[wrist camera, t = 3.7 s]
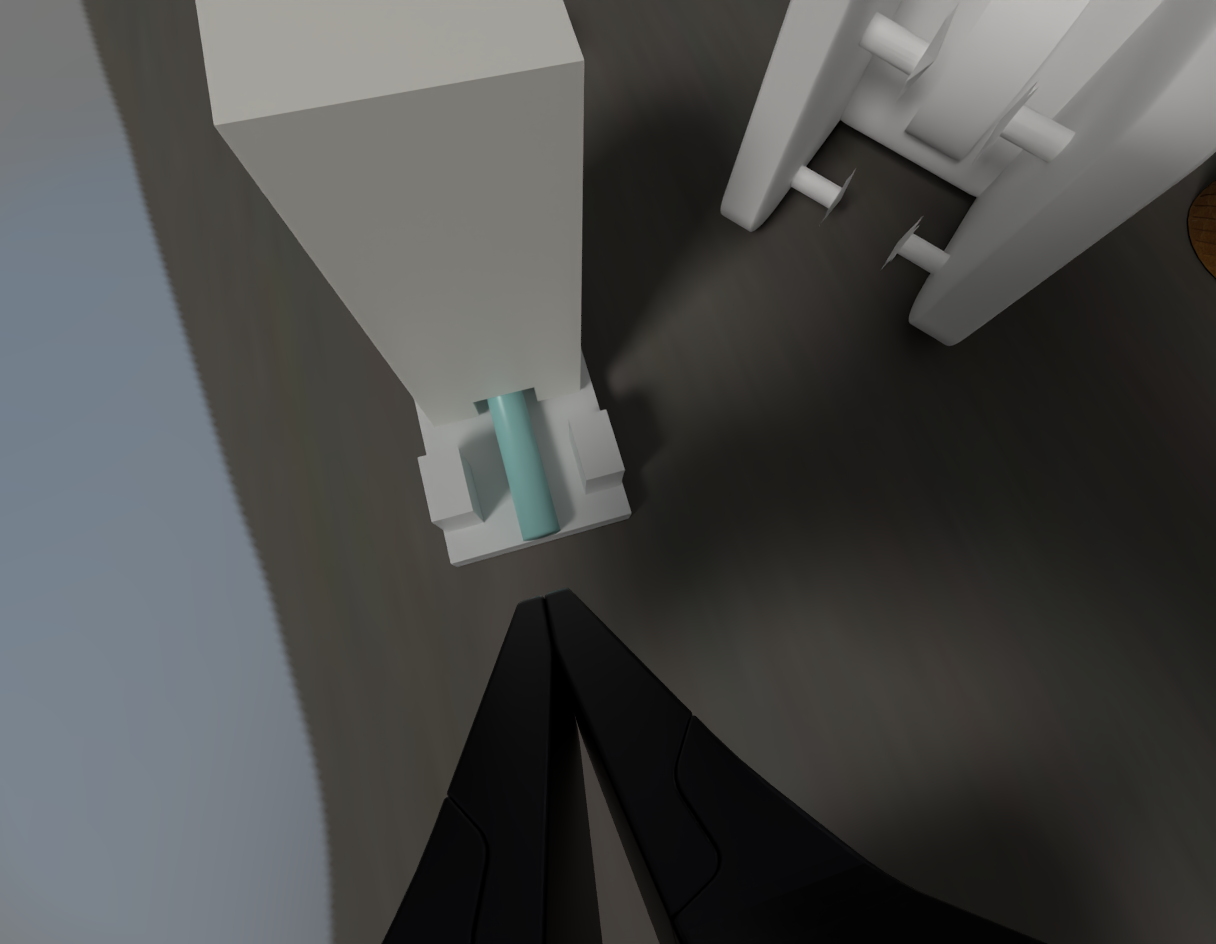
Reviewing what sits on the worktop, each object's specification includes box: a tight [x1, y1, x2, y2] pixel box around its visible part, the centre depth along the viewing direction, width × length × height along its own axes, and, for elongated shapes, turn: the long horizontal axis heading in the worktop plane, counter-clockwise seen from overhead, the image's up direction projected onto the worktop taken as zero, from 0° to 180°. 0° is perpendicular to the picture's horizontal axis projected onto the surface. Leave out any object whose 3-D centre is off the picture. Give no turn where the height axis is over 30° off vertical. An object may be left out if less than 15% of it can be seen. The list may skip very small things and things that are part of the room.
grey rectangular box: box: [196, 0, 584, 427], centre depth 14 cm, size 5×5×12 cm
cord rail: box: [415, 350, 631, 567], centre depth 20 cm, size 24×6×5 cm, turn 16°
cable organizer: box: [720, 0, 1216, 346], centre depth 18 cm, size 15×11×12 cm
